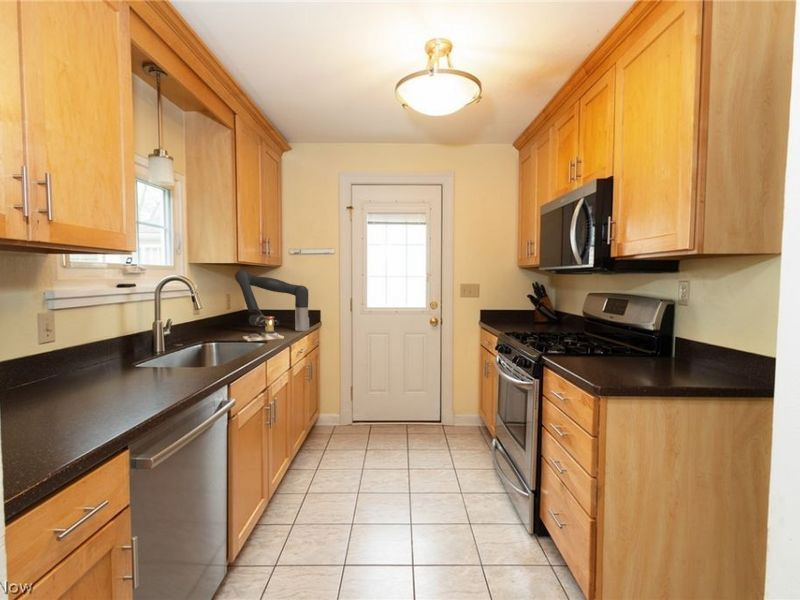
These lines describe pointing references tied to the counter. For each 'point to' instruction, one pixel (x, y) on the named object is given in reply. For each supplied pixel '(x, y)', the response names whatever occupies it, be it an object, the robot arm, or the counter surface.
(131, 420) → the counter surface
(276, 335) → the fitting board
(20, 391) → the counter surface
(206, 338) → the counter surface
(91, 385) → the counter surface
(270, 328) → the yellow jar
